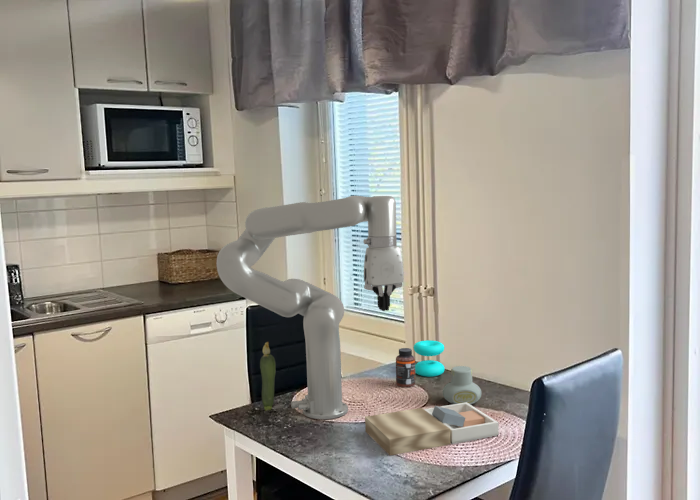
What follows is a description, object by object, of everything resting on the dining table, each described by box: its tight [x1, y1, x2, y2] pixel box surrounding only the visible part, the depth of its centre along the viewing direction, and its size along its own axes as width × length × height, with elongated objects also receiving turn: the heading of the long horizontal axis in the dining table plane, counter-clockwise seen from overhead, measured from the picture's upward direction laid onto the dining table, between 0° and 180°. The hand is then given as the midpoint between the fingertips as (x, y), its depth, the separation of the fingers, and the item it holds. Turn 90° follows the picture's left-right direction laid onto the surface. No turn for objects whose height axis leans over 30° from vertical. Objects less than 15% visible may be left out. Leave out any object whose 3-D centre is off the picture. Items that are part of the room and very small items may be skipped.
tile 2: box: [458, 411, 485, 428], centre depth 180 cm, size 6×6×2 cm
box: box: [423, 402, 500, 445], centre depth 179 cm, size 13×16×4 cm
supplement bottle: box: [395, 347, 416, 388], centre depth 214 cm, size 6×6×11 cm
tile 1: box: [432, 405, 465, 427], centre depth 177 cm, size 6×6×2 cm
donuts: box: [413, 339, 446, 378], centre depth 226 cm, size 10×10×10 cm
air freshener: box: [442, 365, 482, 405], centre depth 198 cm, size 11×8×10 cm
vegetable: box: [259, 341, 277, 412], centre depth 195 cm, size 4×4×20 cm
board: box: [364, 407, 451, 456], centre depth 174 cm, size 16×16×4 cm
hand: (383, 309), depth 188 cm, fingers closed
